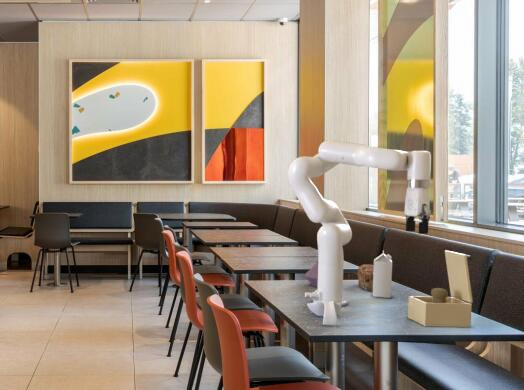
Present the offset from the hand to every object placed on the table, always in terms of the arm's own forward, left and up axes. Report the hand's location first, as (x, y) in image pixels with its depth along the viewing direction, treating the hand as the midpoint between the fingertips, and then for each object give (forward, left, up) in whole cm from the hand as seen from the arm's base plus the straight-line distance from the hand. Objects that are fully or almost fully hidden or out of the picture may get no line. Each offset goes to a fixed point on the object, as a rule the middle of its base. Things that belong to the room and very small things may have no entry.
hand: (416, 232), depth 226 cm
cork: (+4, -10, -30) cm, 32 cm away
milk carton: (+4, +37, -31) cm, 48 cm away
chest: (+4, -10, -30) cm, 32 cm away
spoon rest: (-34, -8, -31) cm, 47 cm away
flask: (-14, +60, -31) cm, 69 cm away
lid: (+10, -10, -14) cm, 20 cm away
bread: (+8, +56, -31) cm, 64 cm away
